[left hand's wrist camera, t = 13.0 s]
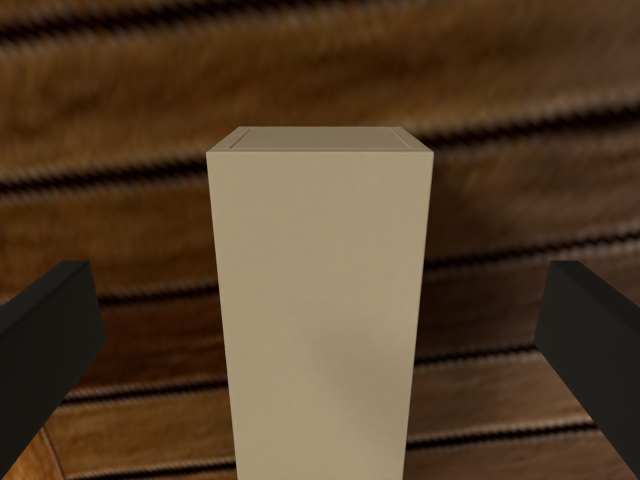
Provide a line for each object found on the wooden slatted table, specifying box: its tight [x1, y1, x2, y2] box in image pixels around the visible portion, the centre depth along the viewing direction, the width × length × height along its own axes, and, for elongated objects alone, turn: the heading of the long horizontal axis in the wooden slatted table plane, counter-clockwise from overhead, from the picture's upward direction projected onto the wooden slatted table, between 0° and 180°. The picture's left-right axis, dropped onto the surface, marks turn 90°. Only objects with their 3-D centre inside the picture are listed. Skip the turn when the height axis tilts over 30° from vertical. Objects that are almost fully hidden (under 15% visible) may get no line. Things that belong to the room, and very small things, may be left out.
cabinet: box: [206, 127, 434, 480], centre depth 26 cm, size 20×10×8 cm, turn 0°
